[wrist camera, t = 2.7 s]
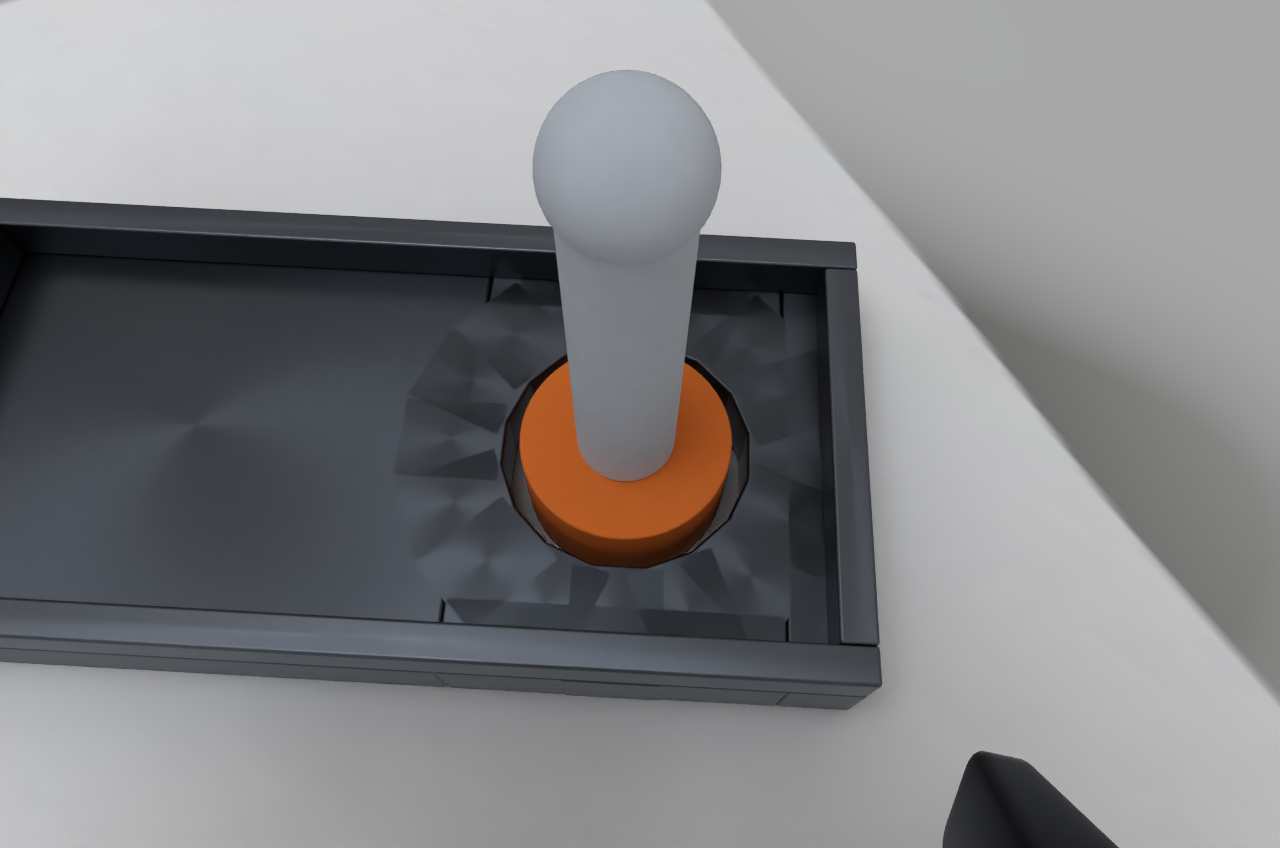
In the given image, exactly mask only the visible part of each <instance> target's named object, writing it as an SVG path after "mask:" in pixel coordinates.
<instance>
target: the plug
mask: <svg viewBox="0 0 1280 848" xmlns="http://www.w3.org/2000/svg"><path fill="white" fill-rule="evenodd" d="M533 181H534V187H535V192H536V196H537V199H538V202H539V205H540V207H541V209H542V211H543V213H544V215H545V217H546V219H547V221H548V222H549V224H550V225H551V226H552V228H553V230H554V239H555V248H556V257H557V266H558V274H559V283H560V292H561V301H562V310H563V319H564V328H565V337H566V346H567V355H568V362H567V363H565V364H564V365H562V366H561V367H559V368H558V369H557V370H555V371H554V372H553V373H552V374H551V375H550V376H549V377H548V378H547V379H546V380H545V381H544V382H543V383H542V384H541V385H540V387H539V388H538V389H537V391H536V392H535V394H534V395H533V397H532V398H531V400H530V402H529V404H528V406H527V409H526V411H525V414H524V417H523V420H522V424H521V430H520V444H519V448H520V456H521V462H522V466H523V470H524V474H525V478H526V482H527V486H528V490H529V494H530V497H531V501H532V505H533V508H534V511H535V513H536V515H537V518H538V520H539V522H540V523H541V525H542V526H543V528H544V530H545V531H546V532H547V533H548V535H549V536H550V537H551V538H552V540H553V541H554V542H556V543H557V544H558V545H559V546H560V547H561V548H562V549H563V550H565V551H566V552H568V553H569V554H572V555H574V556H576V557H578V558H580V559H582V560H584V561H586V562H589V563H591V564H593V565H609V566H627V567H648V566H651V565H654V564H656V563H659V562H662V561H665V560H668V559H671V558H674V557H677V556H679V555H681V554H682V553H684V552H685V551H686V550H688V549H689V548H690V547H691V546H693V545H694V544H695V543H696V542H697V541H698V540H699V539H700V538H701V536H702V535H703V534H704V533H705V531H706V530H707V528H708V527H709V526H710V524H711V522H712V520H713V518H714V516H715V514H716V512H717V509H718V506H719V503H720V499H721V496H722V492H723V488H724V484H725V480H726V477H727V473H728V469H729V465H730V460H731V455H732V433H731V426H730V422H729V418H728V415H727V412H726V410H725V407H724V405H723V403H722V401H721V399H720V398H719V396H718V394H717V393H716V391H715V390H714V389H713V387H712V386H711V385H710V383H709V382H708V381H707V380H706V379H705V378H704V377H703V376H702V375H701V374H700V373H698V372H697V371H696V370H695V369H693V368H692V367H691V366H689V365H688V364H686V363H685V362H684V360H685V352H686V344H687V335H688V327H689V319H690V310H691V302H692V294H693V285H694V277H695V269H696V260H697V252H698V244H699V235H700V230H701V228H702V227H703V226H704V224H705V223H706V221H707V219H708V218H709V216H710V214H711V212H712V210H713V207H714V205H715V202H716V200H717V195H718V191H719V187H720V182H721V156H720V149H719V145H718V141H717V137H716V135H715V132H714V129H713V127H712V125H711V123H710V121H709V119H708V118H707V116H706V114H705V113H704V111H703V110H702V108H701V107H700V106H699V105H698V103H697V102H696V101H695V100H694V99H693V98H692V97H691V96H690V95H689V94H688V93H687V92H686V91H684V90H683V89H682V88H680V87H679V86H677V85H676V84H674V83H672V82H670V81H669V80H667V79H665V78H663V77H660V76H658V75H655V74H651V73H648V72H642V71H635V70H618V71H610V72H606V73H602V74H599V75H596V76H593V77H591V78H589V79H586V80H585V81H583V82H581V83H579V84H578V85H576V86H574V87H573V88H572V89H570V90H569V91H568V92H567V93H566V94H565V95H564V96H563V97H562V98H561V99H560V100H559V101H558V102H557V103H556V104H555V105H554V106H553V108H552V109H551V110H550V112H549V113H548V115H547V117H546V118H545V120H544V122H543V124H542V126H541V129H540V132H539V134H538V137H537V140H536V144H535V149H534V155H533Z"/></svg>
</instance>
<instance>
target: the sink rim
mask: <svg viewBox="0 0 1280 848" xmlns="http://www.w3.org/2000/svg"><path fill="white" fill-rule="evenodd" d="M24 252H36V253H55V254H74V255H93V256H112V257H131V258H150V259H169V260H188V261H207V262H226V263H245V264H264V265H283V266H302V267H321V268H340V269H358V270H377V271H396V272H415V273H434V274H453V275H472V276H491V277H510V278H529V279H548V280H559V274H558V266H557V257H556V248H555V239H554V230H553V228H552V227H549V226H529V225H510V224H491V223H472V222H453V221H434V220H415V219H396V218H376V217H357V216H338V215H319V214H300V213H281V212H262V211H242V210H223V209H204V208H185V207H166V206H147V205H128V204H108V203H89V202H70V201H51V200H32V199H13V198H0V311H1V309H2V306H3V304H4V302H5V299H6V297H7V294H8V292H9V290H10V287H11V285H12V282H13V280H14V278H15V275H16V273H17V270H18V268H19V266H20V263H21V261H22V259H23V256H24ZM856 269H857V259H856V245H855V243H853V242H836V241H817V240H797V239H778V238H759V237H740V236H721V235H702V234H700V235H699V244H698V252H697V260H696V269H695V277H694V285H693V287H700V288H719V289H738V290H757V291H776V292H794V293H813V294H816V316H817V344H818V371H819V399H820V426H821V454H822V481H823V509H824V536H825V564H826V592H827V619H828V644H825V643H807V642H790V641H772V640H754V639H736V638H718V637H700V636H683V635H665V634H647V633H629V632H611V631H593V630H576V629H558V628H540V627H522V626H504V625H486V624H469V623H451V622H433V621H415V620H397V619H379V618H362V617H344V616H326V615H308V614H290V613H272V612H255V611H237V610H219V609H201V608H183V607H165V606H148V605H130V604H112V603H94V602H76V601H58V600H41V599H23V598H5V597H0V648H18V649H35V650H53V651H71V652H88V653H106V654H124V655H141V656H159V657H177V658H194V659H212V660H230V661H247V662H265V663H283V664H300V665H318V666H336V667H354V668H371V669H389V670H407V671H424V672H442V673H460V674H477V675H495V676H513V677H530V678H548V679H566V680H583V681H601V682H619V683H636V684H654V685H672V686H690V687H707V688H725V689H743V690H760V691H778V692H796V693H813V694H831V695H849V696H868V695H870V694H871V693H872V692H874V691H875V690H877V689H878V688H880V687H881V685H882V674H881V658H880V649H879V648H878V647H877V646H878V645H879V643H880V640H879V624H878V607H877V591H876V574H875V558H874V541H873V524H872V508H871V491H870V475H869V458H868V442H867V425H866V409H865V392H864V375H863V359H862V342H861V326H860V309H859V293H858V276H857V271H856Z"/></svg>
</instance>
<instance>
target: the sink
mask: <svg viewBox="0 0 1280 848" xmlns="http://www.w3.org/2000/svg"><path fill="white" fill-rule="evenodd" d="M567 362H568V355H567V346H566V337H565V328H564V319H563V310H562V301H561V292H560V283H559V280H548V279H529V278H510V277H491V276H472V275H453V274H434V273H415V272H396V271H377V270H358V269H340V268H321V267H302V266H283V265H264V264H245V263H226V262H207V261H188V260H169V259H150V258H131V257H112V256H93V255H74V254H55V253H36V252H24V256H23V259H22V261H21V263H20V266H19V268H18V270H17V273H16V275H15V278H14V280H13V282H12V285H11V287H10V290H9V292H8V294H7V297H6V299H5V302H4V304H3V306H2V309H1V311H0V597H5V598H23V599H41V600H58V601H76V602H94V603H112V604H130V605H148V606H165V607H183V608H201V609H219V610H237V611H255V612H272V613H290V614H308V615H326V616H344V617H362V618H379V619H397V620H415V621H433V622H451V623H469V624H486V625H504V626H522V627H540V628H558V629H576V630H593V631H611V632H629V633H647V634H665V635H683V636H700V637H718V638H736V639H754V640H772V641H790V642H807V643H825V644H828V619H827V592H826V564H825V536H824V509H823V481H822V454H821V426H820V399H819V371H818V344H817V316H816V294H813V293H794V292H776V291H757V290H738V289H719V288H700V287H693V294H692V302H691V310H690V319H689V327H688V335H687V344H686V352H685V360H684V362H685V363H686V364H688V365H689V366H691V367H692V368H693V369H695V370H696V371H697V372H698V373H700V374H701V375H702V376H703V377H704V378H705V379H706V380H707V381H708V382H709V383H710V385H711V386H712V387H713V389H714V390H715V391H716V393H717V394H718V396H719V398H720V399H721V401H722V403H723V405H724V407H725V410H726V412H727V415H728V418H729V422H730V426H731V433H732V447H733V449H734V451H735V454H736V456H737V458H738V461H739V496H738V499H737V501H736V503H735V505H734V507H733V509H732V512H731V514H730V516H729V518H728V520H727V521H726V522H725V523H723V524H722V525H721V526H720V527H719V528H718V529H717V530H715V531H714V532H713V533H712V534H711V535H710V536H709V537H708V538H706V539H705V540H704V541H703V542H702V543H701V544H700V545H698V546H697V547H696V548H695V549H694V550H693V551H692V552H689V553H686V554H683V555H680V556H677V557H674V558H671V559H668V560H665V561H662V562H659V563H656V564H654V565H651V566H648V567H627V566H609V565H593V564H591V563H589V562H586V561H584V560H582V559H580V558H578V557H576V556H574V555H572V554H569V553H567V552H565V551H563V550H561V549H559V548H557V547H555V546H553V545H550V544H548V543H547V542H546V541H545V540H544V539H543V538H542V536H541V535H540V534H539V533H538V532H537V531H536V530H535V529H534V527H533V526H532V525H531V524H530V523H529V522H528V521H527V520H526V518H525V517H524V516H523V515H522V514H521V513H520V512H519V511H518V509H517V508H516V506H515V502H514V499H513V496H512V493H511V485H512V477H513V468H514V460H515V452H516V449H517V447H518V446H519V444H520V430H521V424H522V420H523V417H524V414H525V411H526V409H527V406H528V404H529V402H530V400H531V398H532V397H533V395H534V394H535V392H536V391H537V389H538V388H539V387H540V385H541V384H542V383H543V382H544V381H545V380H546V379H547V378H548V377H549V376H550V375H551V374H552V373H553V372H554V371H555V370H557V369H558V368H559V367H561V366H562V365H564V364H565V363H567ZM0 662H16V663H34V664H52V665H69V666H87V667H105V668H122V669H140V670H158V671H175V672H193V673H210V674H228V675H246V676H263V677H281V678H299V679H316V680H334V681H352V682H369V683H387V684H404V685H422V686H440V687H444V686H447V685H448V686H449V687H453V688H471V689H488V690H506V691H524V692H541V693H559V694H566V695H577V696H595V697H612V698H630V699H647V700H658V699H665V700H683V701H700V702H718V703H735V704H753V705H771V706H774V705H776V704H777V705H779V706H790V707H807V708H825V709H843V710H847V709H849V708H851V707H852V706H854V705H855V704H857V703H858V702H860V701H861V700H862V699H864V698H865V697H867V696H849V695H831V694H813V693H796V692H778V691H760V690H743V689H725V688H707V687H690V686H672V685H654V684H636V683H619V682H601V681H583V680H566V679H548V678H530V677H513V676H495V675H477V674H460V673H442V672H424V671H407V670H389V669H371V668H354V667H336V666H318V665H300V664H283V663H265V662H247V661H230V660H212V659H194V658H177V657H159V656H141V655H124V654H106V653H88V652H71V651H53V650H35V649H18V648H0Z"/></svg>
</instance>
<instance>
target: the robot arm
mask: <svg viewBox="0 0 1280 848" xmlns="http://www.w3.org/2000/svg"><path fill="white" fill-rule="evenodd" d="M942 848H1118V847H1117V846H1116V845H1115V844H1114V843H1113V842H1112V841H1111V840H1110V839H1109V838H1108V837H1107V836H1106V835H1105V834H1104V833H1103V832H1102V831H1100V830H1099V829H1098V828H1097V827H1096V826H1095V825H1094V824H1093V823H1092V822H1091V821H1090V820H1089V819H1088V818H1087V817H1086V816H1085V815H1083V814H1082V813H1081V812H1080V811H1079V810H1078V809H1077V808H1076V807H1075V806H1074V805H1073V804H1072V803H1071V802H1070V801H1069V800H1068V799H1067V798H1065V797H1064V796H1063V795H1062V794H1061V793H1060V792H1059V791H1058V790H1057V789H1056V788H1055V787H1054V786H1053V785H1052V784H1051V783H1050V782H1049V781H1047V780H1046V779H1045V778H1044V777H1043V776H1042V775H1041V774H1040V773H1039V772H1038V771H1037V770H1036V769H1035V768H1034V767H1033V766H1031V765H1030V764H1029V763H1028V762H1026V761H1024V760H1021V759H1018V758H1013V757H1008V756H1004V755H999V754H995V753H990V752H985V751H979V752H977V753H975V754H974V755H973V756H972V757H971V759H970V760H969V762H968V764H967V766H966V769H965V772H964V774H963V777H962V780H961V783H960V786H959V789H958V792H957V795H956V797H955V800H954V803H953V806H952V809H951V812H950V815H949V818H948V820H947V823H946V827H945V831H944V836H943V846H942Z"/></svg>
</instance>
